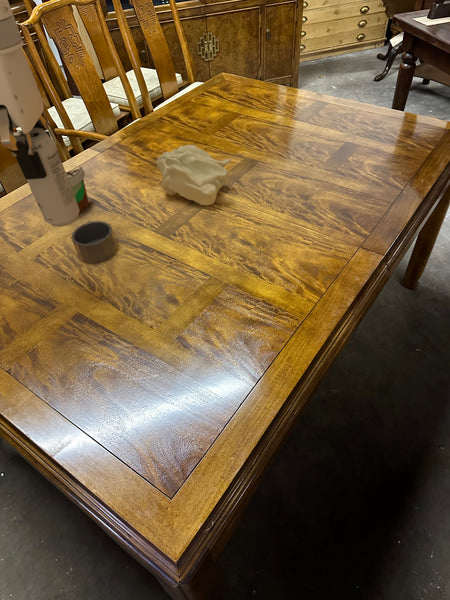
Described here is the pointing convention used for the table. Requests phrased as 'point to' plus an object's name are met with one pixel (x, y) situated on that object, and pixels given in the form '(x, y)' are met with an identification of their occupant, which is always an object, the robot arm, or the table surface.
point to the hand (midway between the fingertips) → (42, 165)
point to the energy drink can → (52, 183)
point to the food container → (78, 188)
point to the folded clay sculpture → (192, 174)
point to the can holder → (95, 242)
